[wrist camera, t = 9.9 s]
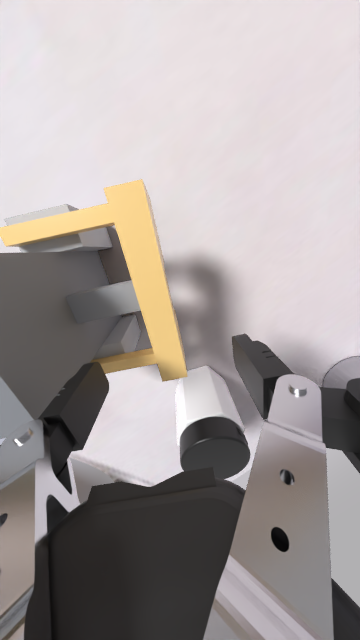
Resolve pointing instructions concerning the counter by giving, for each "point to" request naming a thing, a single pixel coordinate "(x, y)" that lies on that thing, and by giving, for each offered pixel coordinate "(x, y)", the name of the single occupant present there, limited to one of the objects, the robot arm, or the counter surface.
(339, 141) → the counter surface
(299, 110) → the counter surface
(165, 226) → the counter surface
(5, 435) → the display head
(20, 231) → the tan u-shaped bracket
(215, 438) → the jar
